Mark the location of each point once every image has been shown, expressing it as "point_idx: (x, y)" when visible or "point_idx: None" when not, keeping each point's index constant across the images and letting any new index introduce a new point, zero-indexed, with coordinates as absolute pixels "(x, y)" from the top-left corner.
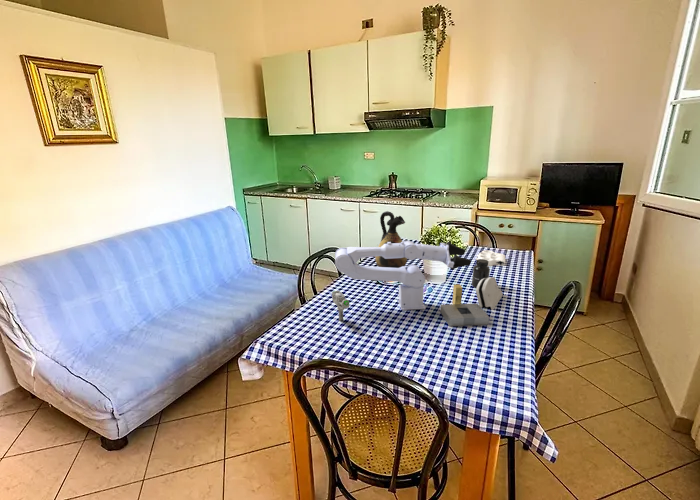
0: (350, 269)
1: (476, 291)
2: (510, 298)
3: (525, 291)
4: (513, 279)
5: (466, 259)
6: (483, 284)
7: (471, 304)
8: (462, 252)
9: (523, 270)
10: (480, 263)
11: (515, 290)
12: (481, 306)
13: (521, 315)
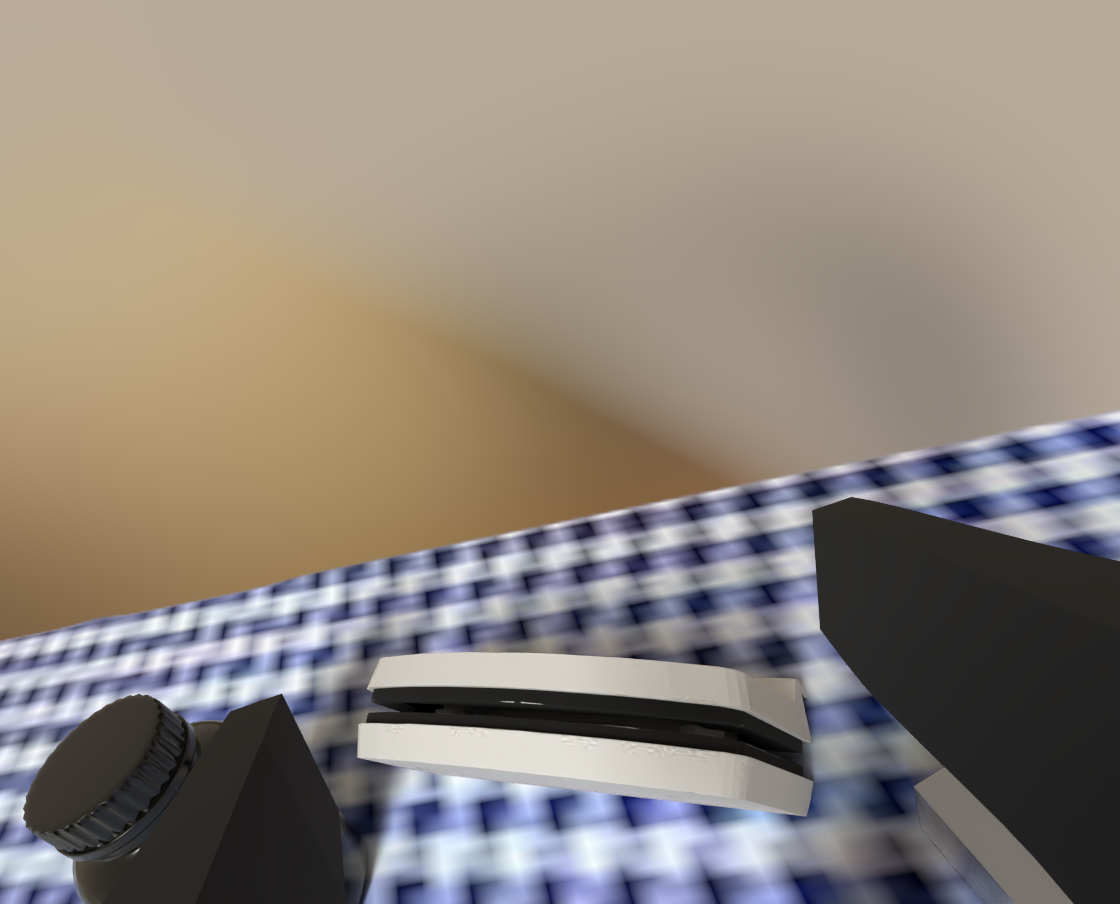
0: None
1: (744, 791)
2: (521, 619)
3: (393, 570)
4: (202, 666)
5: (969, 535)
6: (636, 693)
7: (1005, 851)
8: (310, 817)
9: (82, 642)
10: (146, 777)
11: (381, 620)
12: (808, 788)
13: (784, 509)
